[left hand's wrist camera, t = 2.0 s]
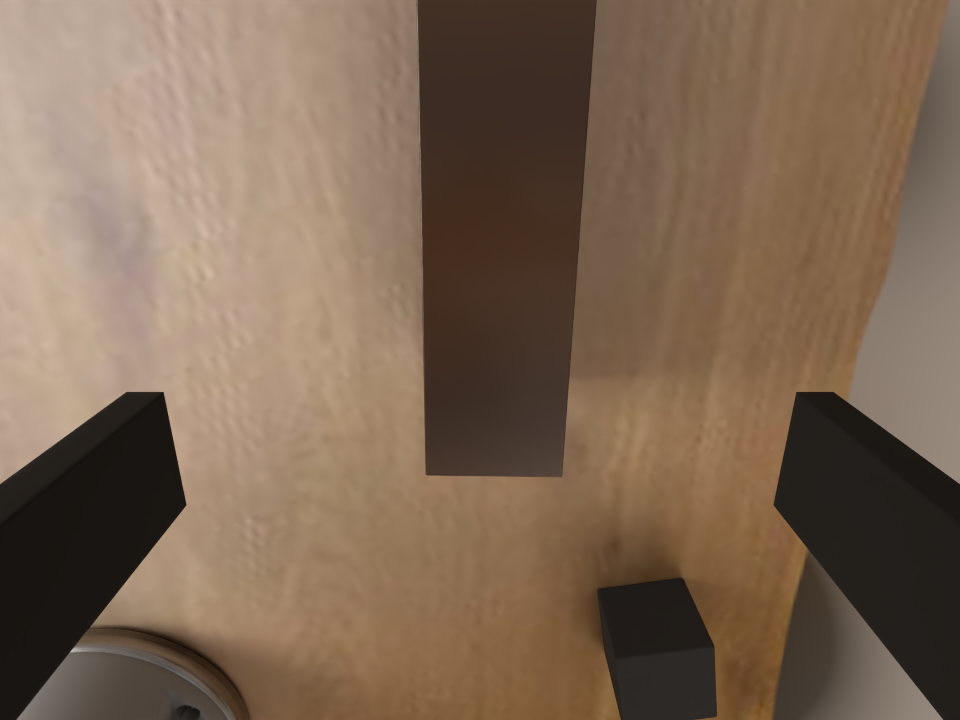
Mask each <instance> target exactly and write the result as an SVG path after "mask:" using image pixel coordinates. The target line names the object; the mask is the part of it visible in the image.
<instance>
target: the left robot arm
mask: <svg viewBox="0 0 960 720" xmlns="http://www.w3.org/2000/svg"><path fill="white" fill-rule="evenodd" d="M185 506H186V500H185V496H184V491H183V486H182V481H181V476H180V471H179V466H178V461H177V456H176V451H175V446H174V441H173V436H172V431H171V427H170V422H169V417H168V412H167V407H166V402H165V397H164V392H126V393H125V394H123V395H122V396H121V397H119V398H118V399H116V400H115V401H114V402H112V403H111V404H110V405H108V406H107V407H105V408H104V409H103V410H101V411H100V412H99V413H97V414H96V415H94V416H93V417H92V418H90V419H89V420H88V421H86V422H85V423H83V424H82V425H81V426H79V427H78V428H77V429H75V430H74V431H73V432H71V433H70V434H68V435H67V436H66V437H64V438H63V439H62V440H60V441H59V442H57V443H56V444H55V445H53V446H52V447H51V448H49V449H48V450H46V451H45V452H44V453H42V454H41V455H40V456H38V457H37V458H36V459H34V460H33V461H31V462H30V463H29V464H27V465H26V466H25V467H23V468H22V469H20V470H19V471H18V472H16V473H15V474H14V475H12V476H11V477H9V478H8V479H7V480H5V481H4V482H3V483H1V484H0V720H249V717H248V713H247V710H246V708H245V705H244V703H243V701H242V699H241V697H240V695H239V694H238V692H237V691H236V689H235V688H234V687H233V685H232V684H231V683H230V682H229V681H228V679H227V678H226V677H225V676H224V675H223V674H222V673H221V672H220V671H219V670H217V669H216V668H215V667H214V666H213V665H211V664H210V663H209V662H207V661H206V660H204V659H203V658H202V657H200V656H199V655H197V654H195V653H193V652H192V651H190V650H188V649H186V648H184V647H182V646H180V645H178V644H176V643H173V642H171V641H168V640H166V639H163V638H160V637H157V636H153V635H149V634H145V633H141V632H136V631H130V630H122V629H104V628H102V629H89V628H90V626H91V625H92V624H93V623H94V621H95V620H96V619H97V618H98V616H99V615H100V614H101V613H102V611H103V610H104V609H105V607H106V606H107V605H108V604H109V602H110V601H111V600H112V599H113V597H114V596H115V595H116V594H117V592H118V591H119V590H120V588H121V587H122V586H123V585H124V583H125V582H126V581H127V580H128V578H129V577H130V576H131V575H132V573H133V572H134V571H135V570H136V568H137V567H138V566H139V564H140V563H141V562H142V561H143V559H144V558H145V557H146V556H147V554H148V553H149V552H150V551H151V549H152V548H153V547H154V546H155V544H156V543H157V542H158V540H159V539H160V538H161V537H162V535H163V534H164V533H165V532H166V530H167V529H168V528H169V527H170V525H171V524H172V523H173V522H174V520H175V519H176V518H177V516H178V515H179V514H180V513H181V511H182V510H183V509H184V508H185ZM774 506H775V508H776V509H777V510H778V511H779V513H780V514H781V515H782V516H783V518H784V519H785V520H786V522H787V523H788V524H789V525H790V527H791V528H792V529H793V530H794V532H795V533H796V534H797V535H798V537H799V538H800V539H801V540H802V542H803V543H804V544H805V546H806V547H807V548H808V549H809V551H810V552H811V553H812V554H813V556H814V557H815V558H816V559H817V561H818V562H819V563H820V564H821V566H822V567H823V568H824V570H825V571H826V572H827V573H828V575H829V576H830V577H831V578H832V580H833V581H834V582H835V583H836V585H837V586H838V587H839V588H840V590H841V591H842V592H843V594H844V595H845V596H846V597H847V598H848V600H849V601H850V602H851V604H852V605H853V606H854V607H855V609H856V610H857V611H858V612H859V614H860V615H861V616H862V618H863V619H864V620H865V621H866V623H867V624H868V625H869V626H870V628H871V629H872V630H873V631H874V633H875V634H876V635H877V637H878V638H879V639H880V640H881V641H882V643H883V644H884V645H885V647H886V648H887V649H888V650H889V652H890V653H891V654H892V655H893V657H894V658H895V659H896V661H897V662H898V663H899V664H900V666H901V667H902V668H903V669H904V671H905V672H906V673H907V674H908V676H909V677H910V678H911V679H912V681H913V682H914V683H915V685H916V686H917V687H918V688H919V689H920V691H921V692H922V693H923V695H924V696H925V697H926V698H927V700H928V701H929V702H930V703H931V705H932V706H933V707H934V709H935V710H936V711H937V712H938V714H939V715H940V716H941V717H942V719H943V720H960V484H959V483H957V482H956V481H955V480H953V479H952V478H951V477H949V476H948V475H946V474H945V473H944V472H942V471H941V470H940V469H938V468H937V467H935V466H934V465H933V464H931V463H930V462H928V461H927V460H926V459H924V458H923V457H922V456H920V455H919V454H918V453H916V452H915V451H914V450H912V449H911V448H909V447H908V446H907V445H905V444H904V443H903V442H901V441H900V440H898V439H897V438H896V437H894V436H893V435H892V434H890V433H889V432H887V431H886V430H885V429H883V428H882V427H881V426H879V425H878V424H876V423H875V422H874V421H872V420H871V419H870V418H868V417H867V416H866V415H864V414H863V413H861V412H860V411H859V410H857V409H856V408H855V407H853V406H852V405H850V404H849V403H848V402H846V401H845V400H844V399H842V398H841V397H839V396H838V395H837V394H835V393H834V392H796V397H795V402H794V407H793V412H792V417H791V422H790V427H789V431H788V436H787V441H786V446H785V451H784V456H783V461H782V466H781V471H780V476H779V481H778V486H777V491H776V496H775V500H774Z"/></svg>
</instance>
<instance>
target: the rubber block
mask: <svg viewBox="0 0 960 720" xmlns="http://www.w3.org/2000/svg"><path fill="white" fill-rule="evenodd" d="M597 592H598V600H599V608H600V616H601V625H602V633H603V641H604V649H605V655H606V660H607V664H608V668H609V672H610V676H611V680H612V684H613V688H614V693H615V697H616V701H617V705H618V709H619V713H620V717H621V720H695V719H704V718H712V717H716V716H717V706H716V680H715V653H714V645H713V642H712V640H711V638H710V636H709V634H708V631H707V629H706V627H705V625H704V623H703V621H702V618H701V616H700V614H699V612H698V610H697V607H696V605H695V603H694V601H693V599H692V597H691V594H690V592H689V590H688V588H687V586H686V584H685V581H684V579H683V578H679V579H672V580H664V581H656V582H649V583H641V584H634V585H626V586H619V587H611V588H604V589H598V591H597Z"/></svg>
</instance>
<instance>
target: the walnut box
mask: <svg viewBox="0 0 960 720" xmlns="http://www.w3.org/2000/svg"><path fill="white" fill-rule="evenodd" d="M596 1H597V0H416V6H417V57H418V108H419V158H420V209H421V260H422V311H423V362H424V413H425V464H426V475H437V476H519V477H562V470H563V456H564V442H565V429H566V415H567V401H568V387H569V373H570V360H571V346H572V332H573V318H574V304H575V291H576V277H577V263H578V249H579V235H580V222H581V208H582V194H583V180H584V167H585V153H586V139H587V125H588V111H589V98H590V84H591V70H592V56H593V42H594V29H595V15H596Z"/></svg>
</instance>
